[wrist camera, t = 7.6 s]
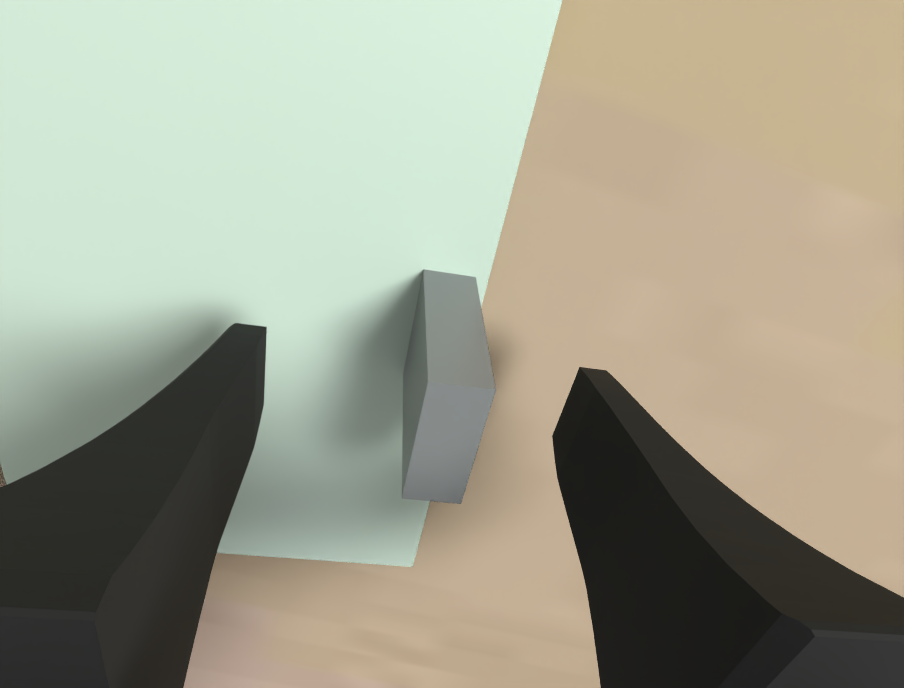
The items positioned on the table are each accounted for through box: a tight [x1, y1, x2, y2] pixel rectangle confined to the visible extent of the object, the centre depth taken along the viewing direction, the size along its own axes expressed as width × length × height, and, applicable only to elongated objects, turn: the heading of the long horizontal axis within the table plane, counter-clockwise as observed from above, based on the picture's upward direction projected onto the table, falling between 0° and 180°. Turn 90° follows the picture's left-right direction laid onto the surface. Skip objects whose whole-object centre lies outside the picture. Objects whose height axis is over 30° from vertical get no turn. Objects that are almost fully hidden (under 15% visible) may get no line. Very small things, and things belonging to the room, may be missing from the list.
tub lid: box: [0, 0, 562, 567], centre depth 13 cm, size 19×12×5 cm, turn 168°
